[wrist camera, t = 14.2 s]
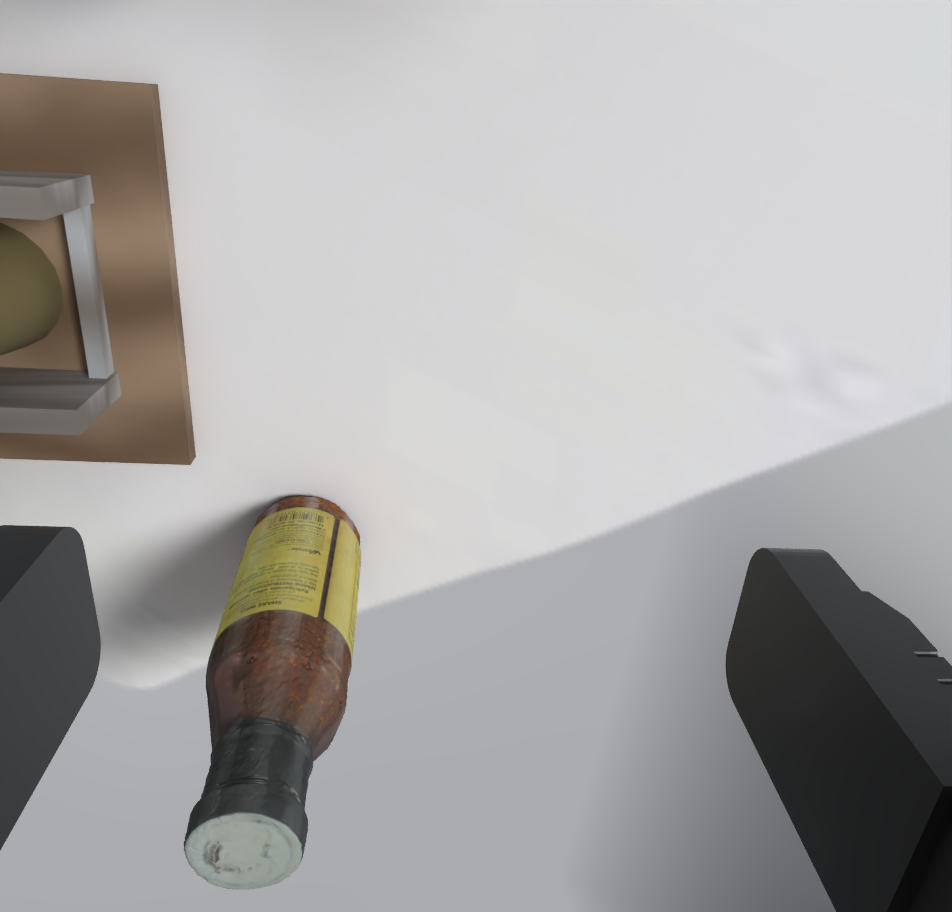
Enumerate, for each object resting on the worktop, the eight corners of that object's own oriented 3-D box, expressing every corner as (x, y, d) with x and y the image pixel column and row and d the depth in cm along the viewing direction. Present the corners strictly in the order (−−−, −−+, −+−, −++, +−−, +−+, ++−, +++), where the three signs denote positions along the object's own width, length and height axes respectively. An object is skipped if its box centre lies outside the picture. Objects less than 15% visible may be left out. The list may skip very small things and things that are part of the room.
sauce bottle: (231, 543, 44) (91, 860, 26) (297, 468, 42) (198, 753, 24) (323, 604, 46) (255, 935, 28) (391, 535, 44) (363, 843, 26)
